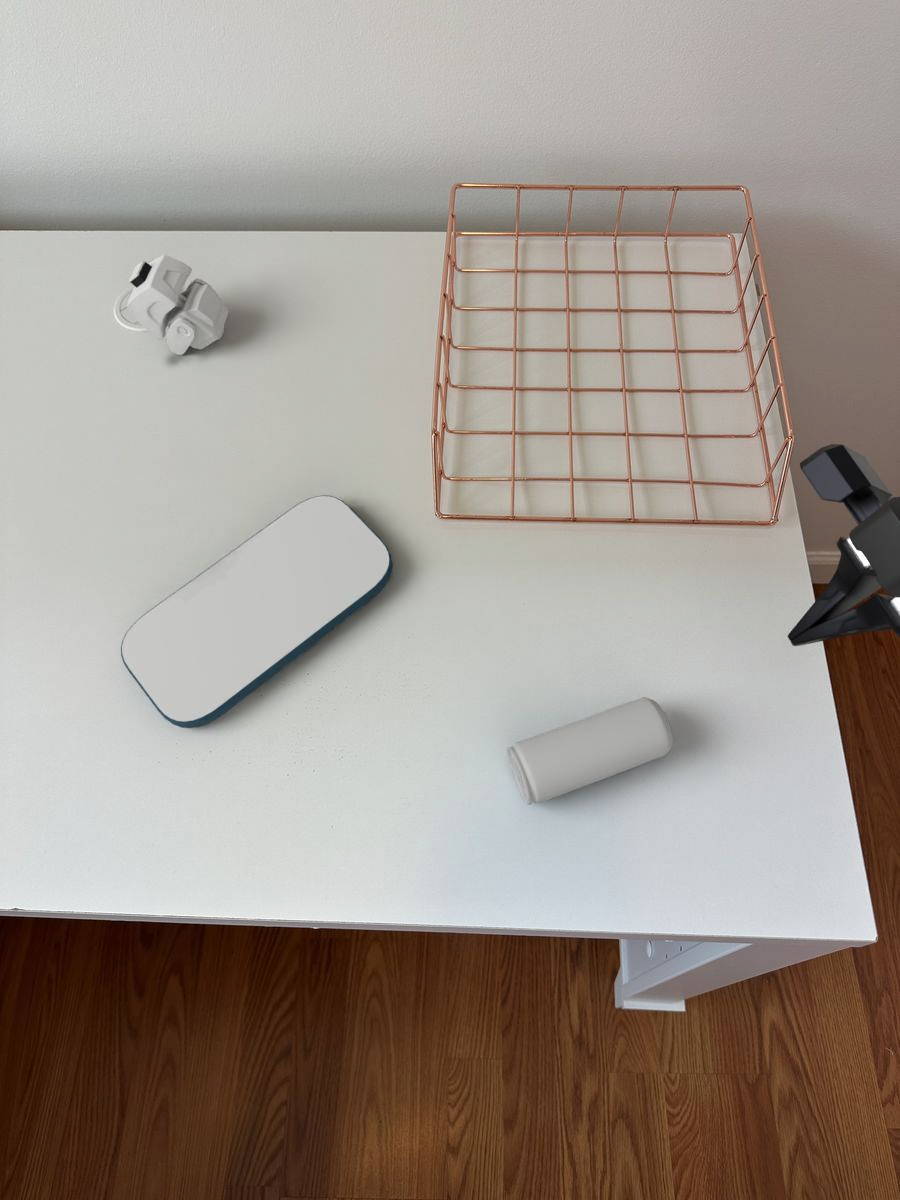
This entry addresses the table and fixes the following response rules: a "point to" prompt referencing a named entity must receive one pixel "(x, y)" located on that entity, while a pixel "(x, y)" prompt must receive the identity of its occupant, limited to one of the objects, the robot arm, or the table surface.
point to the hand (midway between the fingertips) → (792, 641)
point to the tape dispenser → (176, 305)
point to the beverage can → (590, 750)
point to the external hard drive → (255, 611)
